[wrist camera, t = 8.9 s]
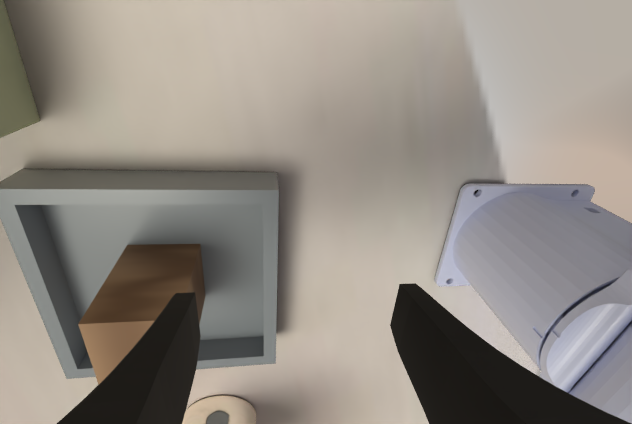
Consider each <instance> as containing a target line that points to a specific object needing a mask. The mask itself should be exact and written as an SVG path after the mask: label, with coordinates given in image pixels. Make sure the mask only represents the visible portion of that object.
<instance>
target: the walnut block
mask: <svg viewBox="0 0 632 424" xmlns="http://www.w3.org/2000/svg"><path fill="white" fill-rule="evenodd" d="M191 292H195V295H196V303H197V311H198V319H199V325H200V320H201V315H202V310H203V305H204V301H205V286H204V276H203V266H202V256H201V246H200V244H147V245H127V246H126V248H125V249H124V251H123V253H122V254H121V256H120V257H119V259H118V261H117V262H116V264H115V266H114V267H113V269H112V270H111V272H110V274H109V275H108V277H107V278H106V280H105V282H104V283H103V285H102V287H101V288H100V290H99V291H98V293H97V295H96V296H95V298H94V299H93V301H92V303H91V304H90V306H89V308H88V309H87V311H86V312H85V314H84V316H83V317H82V319H81V320H80V322H79V324H78V325H79V328H80V331H81V334H82V337H83V340H84V343H85V346H86V349H87V352H88V355H89V358H90V360H91V363H92V366H93V369H94V372H95V375H96V378H97V381H98V384H100V383H101V382H102V381H103V380H104V379H105V378H106V377H107V376H108V375H109V374H110V373H111V372H112V371H113V369H114V368H115V367H116V366H117V365H118V364H119V363H120V362H121V361H122V359H123V358H124V357H125V356H126V355H127V354H128V353H129V352H130V350H131V349H132V348H133V347H134V346H135V345H136V344H137V342H138V341H139V340H140V339H141V337H142V336H143V335H144V334H145V332H146V331H147V330H148V329H149V328H150V326H151V325H152V324H153V322H154V321H155V320H156V318H157V317H158V316H159V315H160V313H161V312H162V310H163V309H164V308H165V306H166V305H167V304H168V302H169V301H170V299H171V298H172V297H173V295H175V294H176V293H191Z"/></svg>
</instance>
